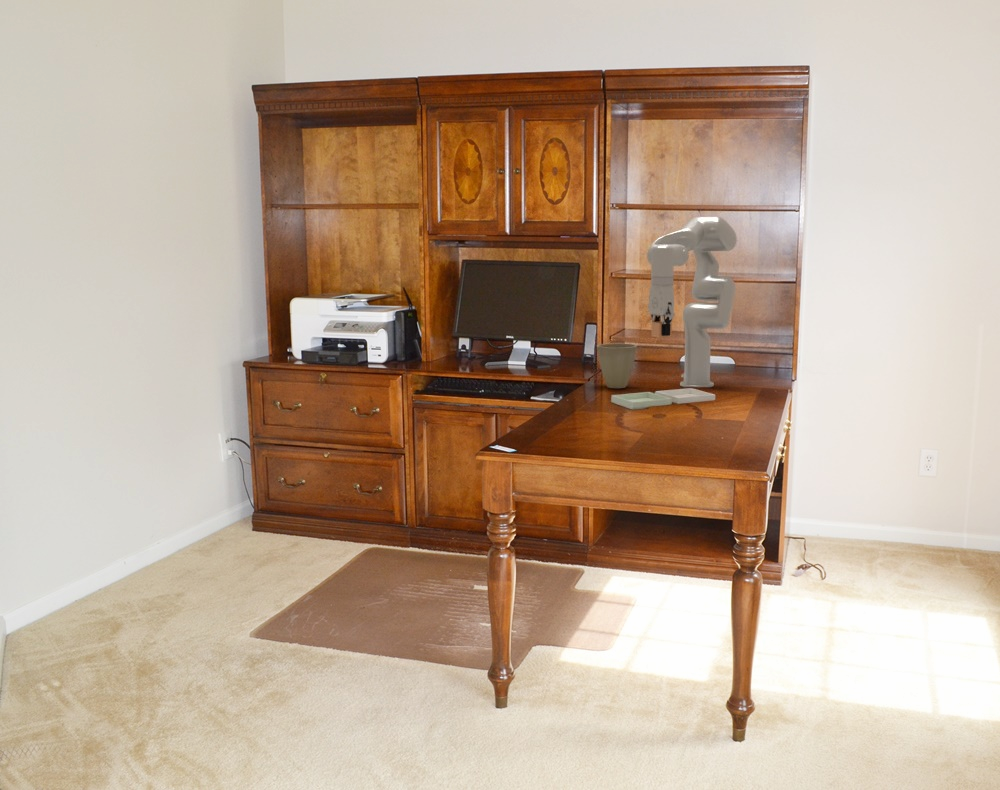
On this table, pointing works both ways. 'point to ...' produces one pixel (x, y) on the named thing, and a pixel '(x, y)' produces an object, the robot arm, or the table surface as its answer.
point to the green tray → (640, 400)
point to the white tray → (686, 395)
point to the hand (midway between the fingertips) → (661, 334)
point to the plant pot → (616, 363)
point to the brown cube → (659, 330)
